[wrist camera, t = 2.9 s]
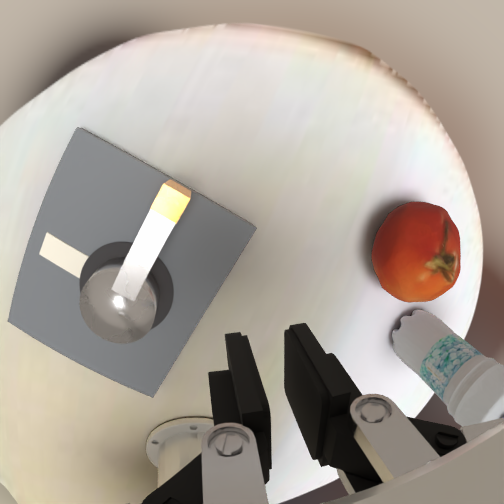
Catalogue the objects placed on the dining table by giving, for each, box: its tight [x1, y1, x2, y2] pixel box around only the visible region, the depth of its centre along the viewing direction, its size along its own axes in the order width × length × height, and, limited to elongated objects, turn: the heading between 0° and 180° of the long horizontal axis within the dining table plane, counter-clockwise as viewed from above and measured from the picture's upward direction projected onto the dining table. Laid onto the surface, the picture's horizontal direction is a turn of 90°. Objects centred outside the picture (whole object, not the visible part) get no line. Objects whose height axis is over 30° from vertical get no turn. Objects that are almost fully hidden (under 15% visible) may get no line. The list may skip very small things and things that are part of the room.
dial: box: [79, 179, 191, 344], centre depth 23 cm, size 13×6×5 cm, turn 147°
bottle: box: [392, 310, 504, 426], centre depth 24 cm, size 7×7×20 cm
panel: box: [8, 127, 257, 398], centre depth 26 cm, size 17×20×2 cm
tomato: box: [372, 202, 460, 302], centre depth 27 cm, size 9×9×8 cm
